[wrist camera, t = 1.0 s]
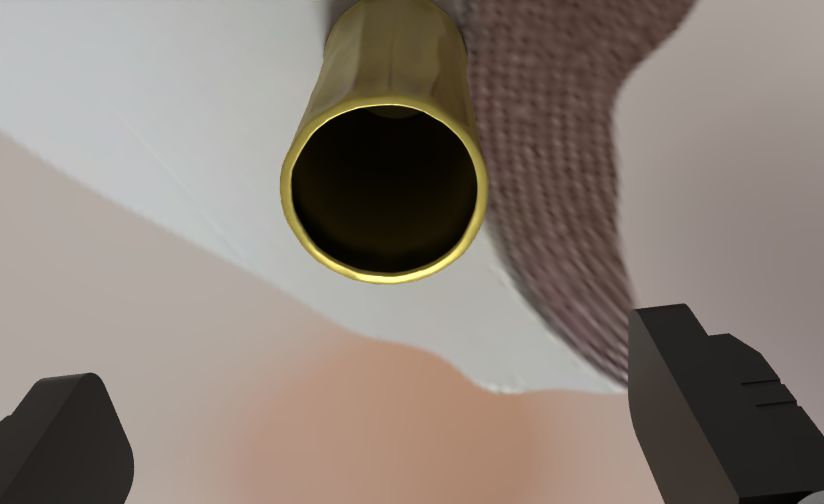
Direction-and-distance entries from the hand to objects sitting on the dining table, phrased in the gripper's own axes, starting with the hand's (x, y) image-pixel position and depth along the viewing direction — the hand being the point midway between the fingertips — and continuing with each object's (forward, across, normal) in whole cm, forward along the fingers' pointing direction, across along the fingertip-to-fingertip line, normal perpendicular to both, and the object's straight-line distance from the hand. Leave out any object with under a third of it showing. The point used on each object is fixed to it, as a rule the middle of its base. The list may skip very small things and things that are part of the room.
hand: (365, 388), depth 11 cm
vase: (+22, 0, 0) cm, 22 cm away
